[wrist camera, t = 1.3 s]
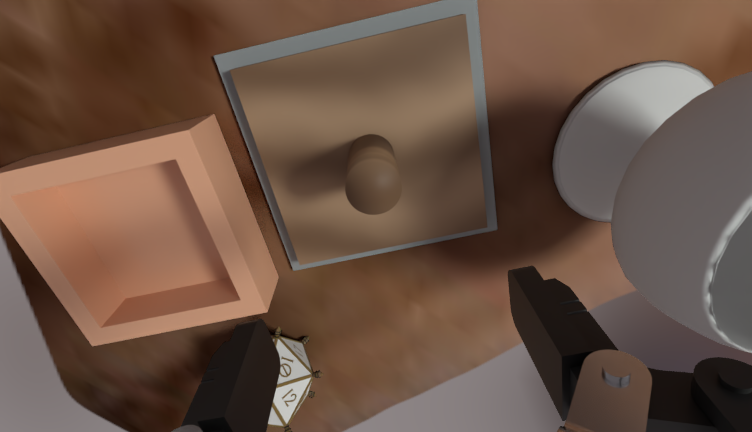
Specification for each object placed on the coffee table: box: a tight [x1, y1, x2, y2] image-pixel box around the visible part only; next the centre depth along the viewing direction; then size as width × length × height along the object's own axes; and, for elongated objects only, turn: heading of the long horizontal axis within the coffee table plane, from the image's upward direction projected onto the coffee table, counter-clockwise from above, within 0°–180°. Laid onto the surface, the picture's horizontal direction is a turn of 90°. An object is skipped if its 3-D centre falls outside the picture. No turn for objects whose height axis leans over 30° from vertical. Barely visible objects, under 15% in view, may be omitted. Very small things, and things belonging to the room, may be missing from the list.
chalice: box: [552, 60, 752, 353], centre depth 23 cm, size 14×14×15 cm
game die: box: [268, 327, 323, 432], centre depth 33 cm, size 9×8×10 cm
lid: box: [230, 14, 487, 265], centre depth 26 cm, size 15×15×7 cm
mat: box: [214, 0, 498, 271], centre depth 29 cm, size 17×17×1 cm
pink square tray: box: [0, 114, 279, 346], centre depth 29 cm, size 14×14×4 cm
